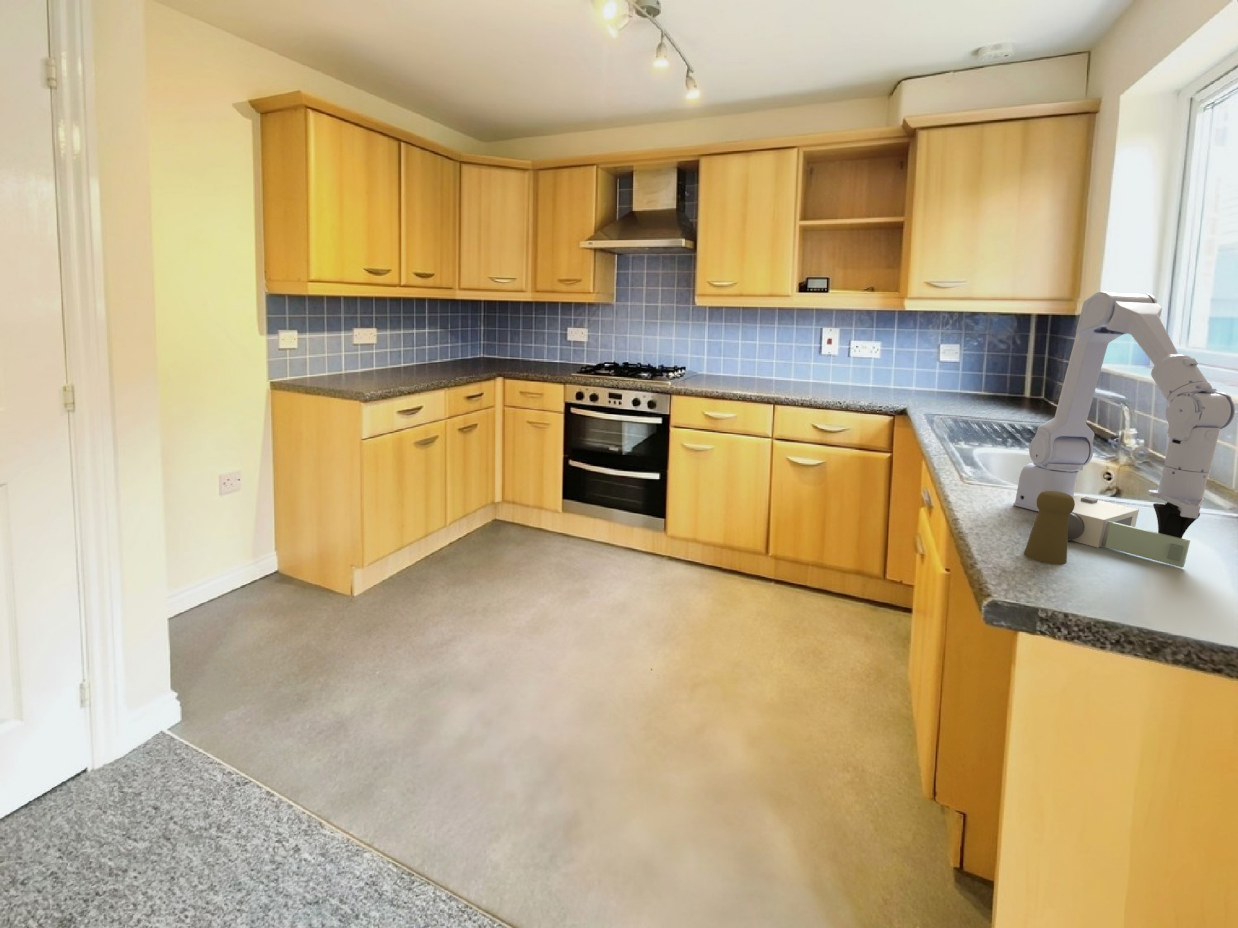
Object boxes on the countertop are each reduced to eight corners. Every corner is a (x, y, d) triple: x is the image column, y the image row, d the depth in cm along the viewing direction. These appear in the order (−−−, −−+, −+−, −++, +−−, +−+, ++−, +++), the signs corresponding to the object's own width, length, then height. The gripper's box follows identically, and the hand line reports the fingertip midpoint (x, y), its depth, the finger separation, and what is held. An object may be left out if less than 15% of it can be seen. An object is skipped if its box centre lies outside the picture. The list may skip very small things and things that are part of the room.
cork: (1027, 548, 117) (1039, 485, 115) (1069, 557, 114) (1082, 492, 111) (1020, 557, 113) (1032, 492, 110) (1063, 567, 109) (1077, 499, 107)
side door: (1103, 545, 120) (1108, 520, 119) (1184, 566, 111) (1190, 540, 110) (1099, 546, 119) (1104, 521, 118) (1180, 568, 110) (1187, 541, 109)
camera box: (1033, 532, 126) (1038, 502, 125) (1074, 520, 135) (1079, 492, 134) (1093, 549, 118) (1100, 517, 117) (1133, 535, 127) (1139, 506, 126)
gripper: (1145, 456, 118) (1128, 531, 122) (1166, 473, 106) (1146, 557, 109) (1197, 462, 115) (1178, 539, 119) (1225, 480, 103) (1203, 566, 106)
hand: (1166, 548), depth 114 cm, fingers closed
